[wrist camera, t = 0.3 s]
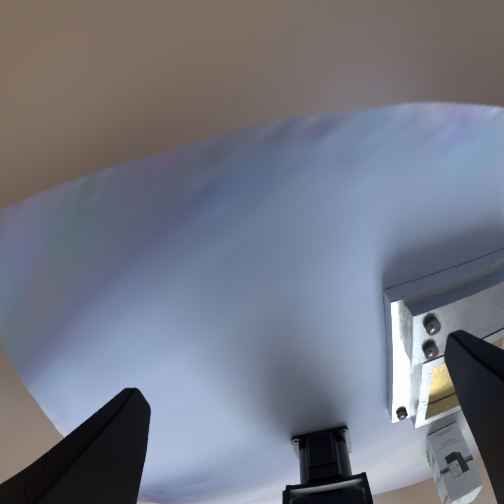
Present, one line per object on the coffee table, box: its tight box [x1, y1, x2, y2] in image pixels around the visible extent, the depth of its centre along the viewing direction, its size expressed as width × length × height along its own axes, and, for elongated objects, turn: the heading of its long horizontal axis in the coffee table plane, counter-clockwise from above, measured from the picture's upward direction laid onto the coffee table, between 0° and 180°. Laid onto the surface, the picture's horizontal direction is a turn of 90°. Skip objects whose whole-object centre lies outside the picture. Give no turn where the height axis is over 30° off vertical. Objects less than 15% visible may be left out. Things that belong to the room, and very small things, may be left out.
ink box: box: [427, 422, 483, 504], centre depth 26 cm, size 9×5×12 cm, turn 25°
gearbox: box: [383, 249, 504, 428], centre depth 22 cm, size 16×14×5 cm
